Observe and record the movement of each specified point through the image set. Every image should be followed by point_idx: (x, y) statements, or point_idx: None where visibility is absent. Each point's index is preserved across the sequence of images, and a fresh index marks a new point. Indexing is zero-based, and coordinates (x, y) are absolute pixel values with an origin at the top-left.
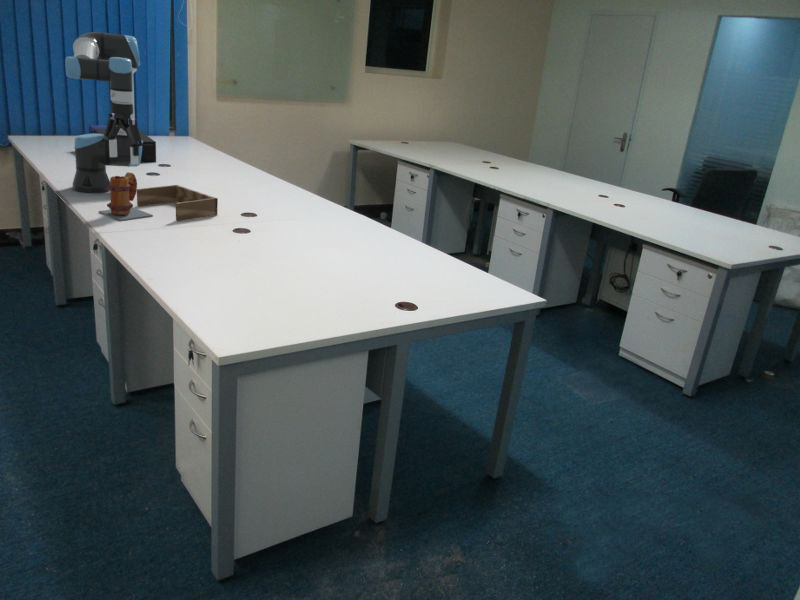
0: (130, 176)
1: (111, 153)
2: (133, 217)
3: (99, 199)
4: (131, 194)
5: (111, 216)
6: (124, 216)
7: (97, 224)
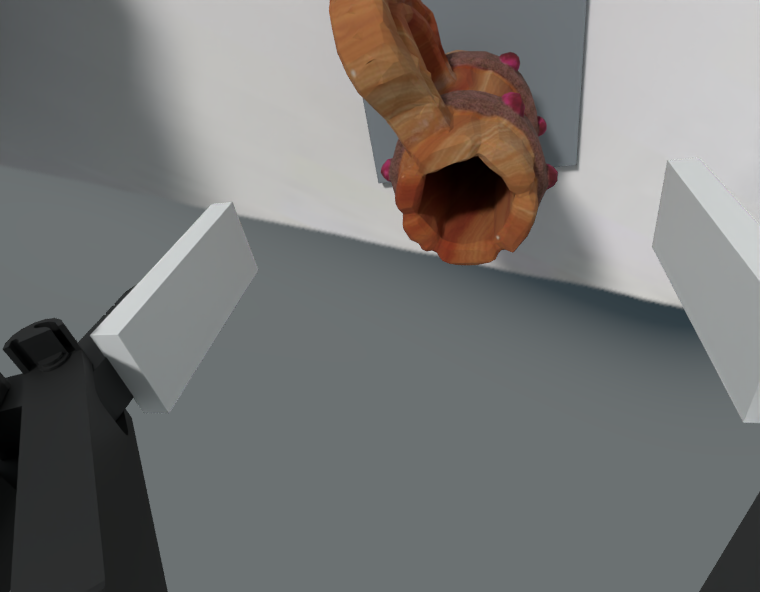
0: (417, 74)
1: (239, 286)
2: (575, 74)
3: (115, 59)
4: (431, 34)
5: None
6: None
7: (564, 266)
